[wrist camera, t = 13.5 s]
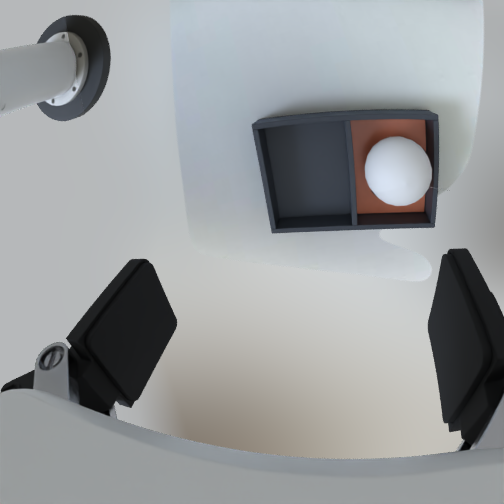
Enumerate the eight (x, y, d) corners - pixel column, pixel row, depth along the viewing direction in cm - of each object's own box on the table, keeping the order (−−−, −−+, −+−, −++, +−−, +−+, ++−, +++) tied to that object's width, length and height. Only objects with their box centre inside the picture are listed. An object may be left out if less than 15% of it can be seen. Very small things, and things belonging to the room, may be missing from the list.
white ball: (350, 173, 33) (354, 198, 28) (378, 118, 29) (391, 130, 23) (419, 211, 34) (434, 242, 28) (449, 161, 29) (473, 184, 23)
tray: (276, 219, 40) (271, 233, 37) (258, 119, 33) (251, 124, 30) (427, 214, 34) (434, 227, 31) (428, 110, 27) (438, 114, 25)
